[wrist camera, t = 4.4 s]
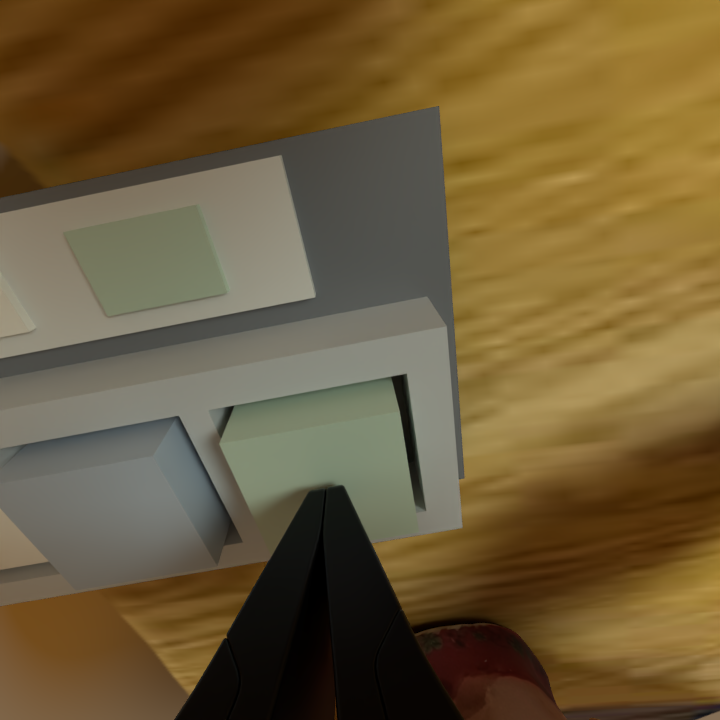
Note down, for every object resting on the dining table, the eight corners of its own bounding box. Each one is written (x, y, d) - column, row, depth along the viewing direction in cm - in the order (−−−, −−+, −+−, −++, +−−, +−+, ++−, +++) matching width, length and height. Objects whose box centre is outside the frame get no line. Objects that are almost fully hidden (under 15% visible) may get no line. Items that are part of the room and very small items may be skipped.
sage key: (390, 373, 10) (399, 411, 8) (408, 486, 11) (419, 532, 10) (235, 402, 10) (218, 444, 8) (279, 508, 12) (271, 557, 10)
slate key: (179, 412, 10) (153, 456, 8) (231, 516, 12) (217, 566, 10) (31, 440, 10) (-19, 487, 9) (106, 538, 12) (75, 590, 10)
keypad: (428, 110, 9) (468, 92, 6) (456, 458, 14) (484, 528, 12) (-316, 266, 10) (-562, 308, 7) (-28, 543, 15) (-107, 627, 12)
